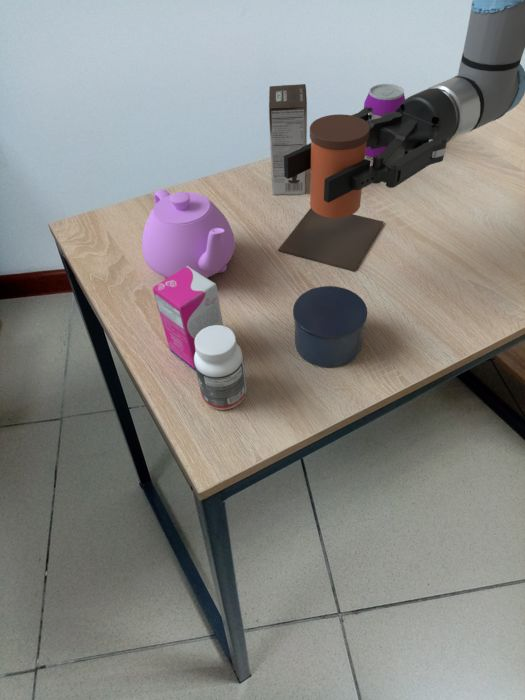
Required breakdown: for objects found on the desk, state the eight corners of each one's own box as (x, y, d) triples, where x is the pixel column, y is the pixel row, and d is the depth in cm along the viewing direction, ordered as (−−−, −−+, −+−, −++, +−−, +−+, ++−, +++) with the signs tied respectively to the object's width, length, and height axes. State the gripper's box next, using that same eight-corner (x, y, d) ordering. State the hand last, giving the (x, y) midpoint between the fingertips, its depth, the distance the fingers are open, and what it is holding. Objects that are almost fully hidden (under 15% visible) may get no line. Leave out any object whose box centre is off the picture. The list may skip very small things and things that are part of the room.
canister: (369, 196, 69) (377, 119, 61) (350, 224, 65) (357, 145, 57) (320, 185, 71) (323, 110, 64) (299, 212, 67) (300, 135, 60)
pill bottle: (204, 375, 69) (193, 321, 61) (247, 375, 68) (241, 320, 61) (199, 411, 65) (186, 358, 58) (245, 411, 65) (238, 357, 57)
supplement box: (200, 327, 75) (188, 263, 66) (228, 349, 72) (219, 284, 63) (167, 350, 72) (150, 286, 64) (195, 373, 69) (181, 308, 61)
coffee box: (271, 170, 103) (268, 84, 92) (304, 169, 103) (305, 82, 91) (271, 195, 97) (268, 107, 85) (306, 194, 97) (308, 105, 85)
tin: (372, 330, 73) (377, 297, 68) (348, 378, 67) (351, 346, 63) (310, 310, 76) (310, 278, 72) (281, 355, 71) (280, 323, 66)
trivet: (383, 223, 90) (383, 221, 89) (354, 271, 81) (354, 269, 81) (312, 206, 94) (312, 205, 94) (278, 251, 86) (278, 249, 86)
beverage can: (390, 165, 102) (399, 102, 94) (353, 157, 105) (358, 95, 96) (404, 148, 107) (414, 86, 98) (368, 140, 110) (374, 79, 101)
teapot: (268, 282, 81) (265, 211, 72) (188, 322, 76) (173, 252, 66) (201, 223, 92) (190, 156, 83) (127, 255, 87) (107, 187, 78)
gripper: (489, 170, 68) (362, 242, 59) (379, 121, 79) (256, 176, 70) (506, 111, 63) (369, 181, 54) (385, 68, 73) (253, 120, 64)
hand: (305, 178), depth 62 cm, fingers closed on canister, 6 cm apart
